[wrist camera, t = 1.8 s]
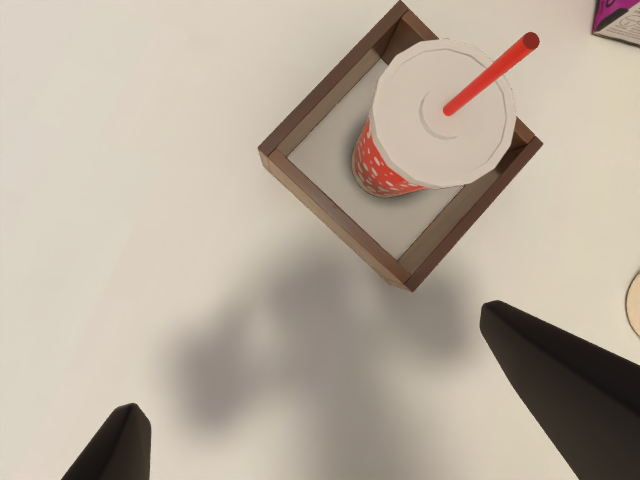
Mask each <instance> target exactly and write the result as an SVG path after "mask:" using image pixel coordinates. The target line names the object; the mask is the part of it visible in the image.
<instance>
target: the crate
mask: <svg viewBox="0 0 640 480" xmlns="http://www.w3.org/2000/svg"><path fill="white" fill-rule="evenodd" d="M408 9H409V8H408V7H407V6H406V5H405V4H404V3H403V2H402V1H401V0H399V1H398V2H397V3H396V4H395V5H394V6H393V8H392V9H391V10H390V11H389V12H388V13H387V14H386V15H385V16H384V17H383V18H382V19H381V20H380V21H379V22H378V23H377V24H376V25H375V26H374V27H373V28H372V29H371V30H370V31H369V32H368V33H367V34H366V36H365V37H364V38H363V39H362V40H361V41H360V42H359V43H358V44H357V45H356V46H355V47H354V48H353V49H352V50H351V51H350V52H349V53H348V54H347V55H346V56H345V57H344V58H343V59H342V60H341V61H340V63H339V64H338V65H337V66H336V67H335V68H334V69H333V70H332V71H331V72H330V73H329V74H328V75H327V76H326V77H325V78H324V79H323V80H322V81H321V82H320V83H319V84H318V85H317V86H316V87H315V88H314V89H313V91H312V92H311V93H310V94H309V95H308V96H307V97H306V98H305V99H304V100H303V101H302V102H301V103H300V104H299V105H298V106H297V107H296V108H295V109H294V110H293V111H292V112H291V113H290V114H289V115H288V116H287V117H286V119H285V120H284V121H283V122H282V123H281V124H280V125H279V126H278V127H277V128H276V129H275V130H274V131H273V132H272V133H271V134H270V135H269V136H268V137H267V138H266V139H265V140H264V141H263V142H262V143H261V144H260V145H259V147H258V151H259V154H260V157H261V161H262V164H263V166H264V167H265V168H266V169H267V170H268V171H269V172H270V173H271V174H272V175H273V176H274V177H275V178H277V179H278V180H279V181H280V182H281V183H282V184H283V185H284V186H285V187H286V188H287V189H288V190H289V191H290V192H292V193H293V194H294V195H295V196H296V197H297V198H298V199H299V200H300V201H301V202H302V203H303V204H304V205H305V206H307V207H308V208H309V209H310V210H311V211H312V212H313V213H314V214H315V215H316V216H317V217H318V218H319V219H320V220H322V221H323V222H324V223H325V224H326V225H327V226H328V227H329V228H330V229H331V230H332V231H333V232H334V233H335V234H337V235H338V236H339V237H340V238H341V239H342V240H343V241H344V242H345V243H346V244H347V245H348V246H349V247H350V248H352V249H353V250H354V251H355V252H356V253H357V254H358V255H359V256H360V257H361V258H362V259H363V260H364V261H365V262H367V263H368V264H369V265H370V266H371V267H372V268H373V269H374V270H375V271H376V272H377V273H378V274H379V275H380V276H382V277H383V278H384V279H385V280H386V281H387V282H388V283H389V284H391V285H394V286H396V287H399V288H401V289H404V290H407V291H409V292H414V291H415V290H416V288H417V287H418V286H419V285H420V284H421V283H422V282H423V280H424V279H425V278H426V277H427V276H428V275H429V274H430V273H431V271H432V270H433V269H434V268H435V267H436V266H437V265H438V263H439V262H440V261H441V260H442V259H443V258H444V257H445V256H446V254H447V253H448V252H449V251H450V250H451V249H452V248H453V246H454V245H455V244H456V243H457V242H458V241H459V240H460V238H461V237H462V236H463V235H464V234H465V233H466V232H467V231H468V229H469V228H470V227H471V226H472V225H473V224H474V223H475V221H476V220H477V219H478V218H479V217H480V216H481V215H482V214H483V212H484V211H485V210H486V209H487V208H488V207H489V206H490V204H491V203H492V202H493V201H494V200H495V199H496V198H497V196H498V195H499V194H500V193H501V192H502V191H503V190H504V189H505V187H506V186H507V185H508V184H509V183H510V182H511V181H512V179H513V178H514V177H515V176H516V175H517V174H518V173H519V172H520V170H521V169H522V168H523V167H524V166H525V165H526V164H527V162H528V161H529V160H530V159H531V158H532V157H533V156H534V155H535V153H536V152H537V151H538V150H539V149H540V148H541V147H542V145H543V143H542V142H541V141H540V140H539V139H538V138H537V137H536V136H535V134H534V133H533V132H532V131H531V130H530V129H529V128H528V127H527V126H526V125H525V124H524V123H523V122H522V121H521V120H520V119H519V118H518V117H517V116H516V122H515V127H514V132H513V136H512V141H511V145H510V147H509V148H508V150H507V151H506V153H505V154H504V155H503V157H502V158H501V160H500V161H499V163H498V164H497V166H496V167H495V168H494V169H493V170H491V171H489V172H488V173H486V174H485V175H483V176H481V177H480V178H478V179H477V180H475V181H474V182H472V183H470V184H466V185H465V186H464V188H463V189H462V190H461V191H460V192H459V193H458V194H457V195H456V197H455V198H454V199H453V200H452V201H451V202H450V203H449V204H448V205H447V207H446V208H445V209H444V210H443V211H442V212H441V213H440V214H439V216H438V217H437V218H436V219H435V220H434V221H433V222H432V223H431V225H430V226H429V227H428V228H427V229H426V230H425V231H424V232H423V233H422V235H421V236H420V237H419V238H418V239H417V240H416V241H415V242H414V244H413V245H412V246H411V247H410V248H409V249H408V250H407V251H406V252H405V254H404V255H403V256H402V257H401V258H400V259H399V260H398V261H396V260H395V259H394V258H393V257H392V256H391V255H390V254H389V253H387V252H386V251H385V250H384V249H383V248H382V247H381V246H380V245H379V244H378V243H377V242H376V241H375V240H374V239H373V238H372V237H370V236H369V235H368V234H367V233H366V232H365V231H364V230H363V229H362V228H361V227H360V226H359V225H358V224H357V223H356V222H354V221H353V220H352V219H351V218H350V217H349V216H348V215H347V214H346V213H345V212H344V211H343V210H342V209H341V208H340V207H339V206H337V205H336V204H335V203H334V202H333V201H332V200H331V199H330V198H329V197H328V196H327V195H326V194H325V193H324V192H323V191H322V190H320V189H319V188H318V187H317V186H316V185H315V184H314V183H313V182H312V181H311V180H310V179H309V178H308V177H307V176H306V175H304V174H303V173H302V172H301V171H300V170H299V169H298V168H297V167H296V166H295V165H294V164H293V163H292V162H291V161H290V160H289V159H287V158H286V157H287V156H288V155H289V153H290V152H291V151H292V150H293V149H294V148H295V147H296V146H297V145H298V144H299V143H300V142H301V141H302V140H303V139H304V138H305V137H306V136H307V135H308V134H309V132H310V131H311V130H312V129H313V128H314V127H315V126H316V125H317V124H318V123H319V122H320V121H321V120H322V119H323V118H324V117H325V116H326V115H327V114H328V113H329V112H330V110H331V109H332V108H333V107H334V106H335V105H336V104H337V103H338V102H339V101H340V100H341V99H342V98H343V97H344V96H345V95H346V94H347V93H348V92H349V91H350V89H351V88H352V87H353V86H354V85H355V84H356V83H357V82H358V81H359V80H360V79H361V78H362V77H363V76H364V75H365V74H366V73H367V72H368V71H369V70H370V68H371V67H372V66H373V65H374V64H375V63H376V62H377V61H378V60H379V59H380V58H382V59H383V60H384V61H385V62H386V63H387V64H388V65H389V64H390V63H391V62H392V60H393V59H394V58H395V56H396V55H398V54H400V53H401V52H403V51H405V50H407V49H408V48H410V47H412V46H413V45H415V44H417V43H419V42H421V41H430V40H439V38H438V37H437V36H436V35H435V34H434V33H433V32H432V31H431V30H430V29H429V28H428V27H427V26H426V25H425V24H424V23H423V22H422V21H421V20H420V19H419V18H418V17H417V16H416V15H415V14H414V13H413V12H412V11H411V10H410V9H409V10H408Z"/></svg>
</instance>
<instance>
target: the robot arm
mask: <svg viewBox="0 0 640 480" xmlns="http://www.w3.org/2000/svg"><path fill="white" fill-rule="evenodd" d="M480 330H481V333H482V335H483V337H484V338H485V340H486V342H487V344H488V345H489V347H490V349H491V351H492V352H493V354H494V356H495V358H496V359H497V361H498V363H499V364H500V366H501V368H502V370H503V371H504V373H505V375H506V377H507V378H508V380H509V382H510V383H511V385H512V386H513V388H514V389H515V391H516V392H517V394H518V395H519V397H520V398H521V399H522V401H523V402H524V403H525V405H526V406H527V408H528V409H529V410H530V412H531V413H532V415H533V416H534V417H535V419H536V420H537V422H538V423H539V424H540V426H541V427H542V429H543V430H544V431H545V433H546V434H547V435H548V437H549V438H550V440H551V441H552V442H553V444H554V445H555V447H556V448H557V449H558V451H559V452H560V454H561V455H562V456H563V458H564V459H565V461H566V462H567V463H568V465H569V466H570V467H571V469H572V470H573V472H574V473H575V474H576V476H577V477H578V479H579V480H640V365H637V364H635V363H633V362H631V361H629V360H627V359H625V358H622V357H620V356H618V355H616V354H614V353H612V352H610V351H607V350H605V349H603V348H601V347H599V346H597V345H595V344H592V343H590V342H588V341H586V340H584V339H582V338H580V337H577V336H575V335H573V334H571V333H569V332H567V331H564V330H562V329H560V328H558V327H556V326H554V325H552V324H549V323H547V322H545V321H543V320H541V319H539V318H537V317H534V316H532V315H530V314H528V313H526V312H524V311H522V310H519V309H517V308H515V307H513V306H511V305H509V304H507V303H504V302H502V301H499V300H495V301H491V302H488V303H485V304H483V306H482V309H481V317H480ZM150 452H151V424H150V421H149V419H148V418H147V417H146V416H145V414H144V413H143V412H142V410H141V409H140V408H139V406H138V405H137V404H135V403H130V404H126V405H123V406H119V407H117V408H116V409H115V410H114V411H113V412H112V413H111V414H110V416H109V417H108V418H107V420H106V421H105V422H104V424H103V425H102V426H101V428H100V429H99V430H98V432H97V433H96V434H95V435H94V437H93V438H92V439H91V441H90V442H89V443H88V445H87V446H86V447H85V449H84V450H83V451H82V453H81V454H80V455H79V456H78V458H77V459H76V460H75V462H74V463H73V464H72V466H71V467H70V468H69V470H68V471H67V472H66V474H65V475H64V476H63V478H62V479H61V480H149V477H150Z"/></svg>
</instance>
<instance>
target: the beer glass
mask: <svg viewBox="0 0 640 480" xmlns="http://www.w3.org/2000/svg"><path fill="white" fill-rule="evenodd" d="M627 314H628V318H629V321H630V323H631V325H632V327H633V329H634V330H635V332H636V333H637V334H638V335H639V336H640V273H639V274H638V275H637V276H636V278H635V279H634V280H633V282H632V284H631V286H630V288H629V291H628V295H627Z"/></svg>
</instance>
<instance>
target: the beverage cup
mask: <svg viewBox="0 0 640 480" xmlns="http://www.w3.org/2000/svg"><path fill="white" fill-rule="evenodd" d="M539 42H540V41H539V37H538V36H537V35H536V34H535V33H533V32H528V33H526V34H525V35H524V36H523V37H522V38H520V39H519V40H518V41H517V42H516V43H515V44H514V45H513V46H511V47H510V48H509V49H508V50H507V51H506V52H505V53H504V54H502V55H501V56H500V57H499V58H498V59H497V60H496V61H495V62H494V61H492V60H491V59H490V58H489V57H487V56H486V55H485V54H484V53H482V52H481V51H480V50H479V49H477V48H476V47H475V46H471V45H468V44H465V43H461V42H458V41H455V40H451V39H439V40H430V41H421V42H419V43H417V44H415V45H413V46H412V47H410V48H408V49H407V50H405V51H403V52H401V53H400V54H398V55H396V56H395V58H394V59H393V60H392V62H391V63H390V64H389V66H388V67H387V68H386V70H385V71H384V73H383V74H382V75H381V77H380V78H379V80H378V81H377V85H376V87H375V89H374V93H373V98H372V102H371V106H370V110H369V116H368V118H367V121H366V123H365V125H364V127H363V130H362V132H361V134H360V136H359V139H358V141H357V143H356V145H355V148H354V151H353V155H352V160H351V164H352V171H353V175H354V177H355V179H356V180H357V182H358V184H359V185H360V187H361V188H363V189H364V190H365V191H367V192H368V193H370V194H371V195H374V196H378V197H382V198H387V197H394V196H399V195H403V194H407V193H411V192H415V191H419V190H423V189H427V188H432V189H442V188H449V187H455V186H462V185H465V184H470V183H472V182H474V181H475V180H477V179H478V178H480V177H481V176H483V175H485V174H486V173H488V172H489V171H491V170H493V169H494V168H495V167H496V166H497V164H498V163H499V161H500V160H501V158H502V157H503V155H504V154H505V153H506V151H507V150H508V148H509V147H510V145H511V141H512V136H513V132H514V127H515V122H516V111H515V105H514V99H513V93H512V89H511V87H510V85H509V83H508V82H507V80H506V78H505V77H504V75H503V74H504V73H506V72H507V71H508V70H509V69H511V68H512V67H513V66H514V65H516V64H517V63H518V62H519V61H521V60H522V59H523V58H525V57H526V56H527V55H528V54H530V53H531V52H532V51H533V50H535V49H536V48H537V47H538V45H539Z"/></svg>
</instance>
